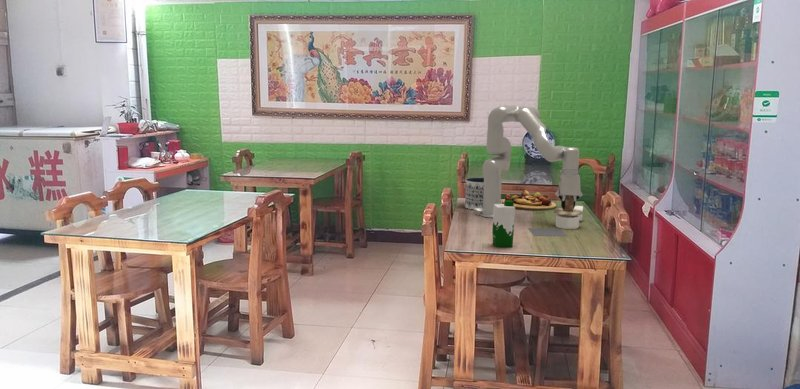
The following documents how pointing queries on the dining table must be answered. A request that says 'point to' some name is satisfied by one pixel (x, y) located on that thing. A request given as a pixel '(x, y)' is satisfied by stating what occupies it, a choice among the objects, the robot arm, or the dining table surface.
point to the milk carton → (503, 224)
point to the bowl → (567, 221)
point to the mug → (581, 210)
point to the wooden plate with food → (531, 201)
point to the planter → (474, 193)
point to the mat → (547, 232)
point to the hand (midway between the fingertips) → (568, 208)
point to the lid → (568, 209)
